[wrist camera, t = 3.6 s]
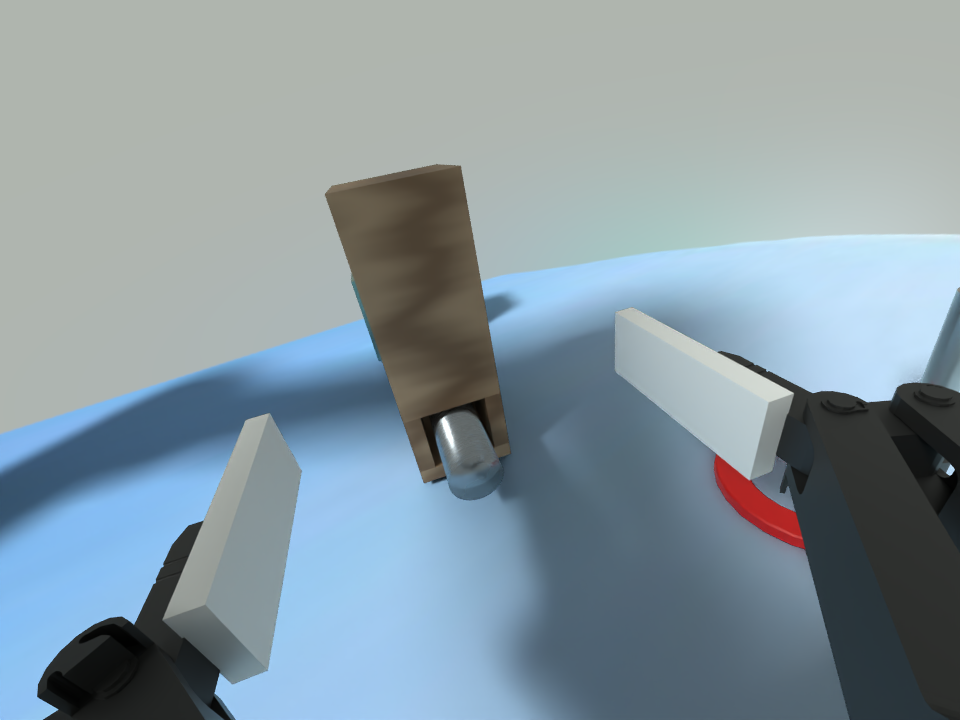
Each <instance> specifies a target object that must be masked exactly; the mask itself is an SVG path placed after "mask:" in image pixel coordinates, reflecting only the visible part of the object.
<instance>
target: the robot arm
mask: <svg viewBox="0 0 960 720" xmlns="http://www.w3.org/2000/svg"><path fill="white" fill-rule="evenodd" d="M615 372H617V373H618V374H619V375H620V376H621V377H623V378H624V379H625V380H626V381H628V382H629V383H630V384H631V385H633V386H634V387H635V388H636V389H637V390H639V391H640V392H641V393H642V394H644V395H645V396H646V397H647V398H649V399H650V400H651V401H652V402H653V403H655V404H656V405H657V406H658V407H660V408H661V409H662V410H663V411H664V412H666V413H667V414H668V415H669V416H671V417H672V418H673V419H674V420H676V421H677V422H678V423H679V424H680V425H682V426H683V427H684V428H685V429H687V430H688V431H689V432H690V433H692V434H693V435H694V436H695V437H696V438H698V439H699V440H700V441H701V442H703V443H704V444H705V445H706V446H708V447H709V448H710V449H711V450H712V451H714V452H715V453H716V454H717V455H719V456H720V457H721V458H722V459H724V460H725V461H726V462H727V463H728V464H730V465H731V466H732V467H733V468H735V469H736V470H737V471H738V472H739V473H741V474H742V475H743V476H744V477H746V478H747V479H748V480H749V481H750V480H752V479H755V478H757V477H760V476H762V475H765V474H767V473H770V472H772V469H773V466H774V462H775V459H776V455H777V456H778V457H780V458H781V459H783V460H784V461H785V462H787V467H786V470H785V473H784V476H783V480H782V483H781V486H780V493H785V491H786V488H787V486H789V488H790V492H791V496H792V500H793V504H794V507H795V511H796V515H797V519H798V523H799V527H800V530H801V534H802V538H803V542H804V546H805V550H806V554H807V557H808V561H809V565H810V569H811V573H812V577H813V580H814V584H815V588H816V592H817V596H818V600H819V603H820V607H821V611H822V615H823V619H824V623H825V626H826V630H827V634H828V638H829V642H830V646H831V649H832V653H833V657H834V661H835V665H836V669H837V672H838V676H839V680H840V684H841V688H842V692H843V695H844V699H845V703H846V707H847V711H848V715H849V718H850V720H960V393H959V392H957V391H955V390H952V389H949V388H946V387H944V386H941V385H936V384H935V385H933V384H930V383H907V384H902V385H901V386H899V387H897V389H896V391H895V394H894V396H893V398H892V400H891V401H879V402H865V401H863V400H862V399H860V398H858V397H855V396H852V395H849V394H846V393H840V392H834V391H821V392H817V393H811V392H809V391H807V390H805V389H803V388H801V387H799V386H797V385H795V384H793V383H791V382H789V381H787V380H785V379H783V378H781V377H779V376H777V375H775V374H773V373H772V372H770V371H768V372H767V371H766V369H764V368H762V367H760V366H758V365H754V363H752V362H750V361H748V360H746V359H744V358H742V357H740V356H737V355H734V354H730V353H726V352H723V351H720V352H716V351H714V350H712V349H710V348H708V347H706V346H704V345H702V344H701V343H699V342H697V341H695V340H693V339H691V338H689V337H687V336H686V335H684V334H682V333H680V332H678V331H676V330H674V329H672V328H670V327H669V326H667V325H665V324H663V323H661V322H659V321H657V320H655V319H654V318H652V317H650V316H648V315H646V314H644V313H642V312H640V311H639V310H637V309H635V308H633V307H631V308H628V309H624V310H621V311H618V312H615ZM944 459H946V460H947V461H948V462H949V463H950V464H951V465H952V466H953V467H954V469H955V471H954V472H953V474H952V475H951V476H949V475H948V474H946V473H945V472H944V471H943V470H942V469H941V468H940V466H941V464H942V462H943V461H944ZM301 472H302V471H301V469H300V467H299V465H298V463H297V462H296V460H295V458H294V456H293V454H292V453H291V451H290V449H289V447H288V445H287V443H286V442H285V440H284V438H283V436H282V434H281V433H280V431H279V429H278V427H277V425H276V424H275V422H274V420H273V418H272V416H271V415H270V413H268V414H264V415H261V416H257V417H254V418H251V419H247V420H246V421H245V423H244V426H243V428H242V431H241V433H240V435H239V438H238V440H237V443H236V445H235V447H234V450H233V452H232V454H231V457H230V459H229V462H228V464H227V466H226V469H225V471H224V474H223V476H222V478H221V481H220V483H219V486H218V488H217V490H216V493H215V495H214V498H213V500H212V502H211V505H210V507H209V510H208V512H207V514H206V517H205V519H204V521H201V522H198V523H195V524H192V525H189V526H188V527H187V528H186V529H185V530H184V531H183V533H182V534H181V535H180V536H179V537H178V539H177V540H176V541H175V542H174V543H173V545H172V546H171V549H170V551H169V553H168V555H167V557H166V559H165V561H164V563H163V565H164V567H162V568H161V570H160V572H159V574H158V576H157V578H156V583H155V584H153V587H152V589H151V591H150V593H149V595H148V597H147V599H146V601H145V603H144V606H143V608H142V610H141V612H140V614H139V616H138V618H137V620H136V622H135V625H133V624H132V623H131V622H130V621H128V620H127V619H125V618H123V617H114V618H108V619H106V620H104V621H101V622H99V623H97V624H94V625H93V626H91V627H90V628H88V629H87V630H85V631H84V632H82V633H81V634H79V635H78V636H76V637H75V638H74V639H73V640H72V641H71V642H70V643H69V644H68V645H66V646H65V647H64V648H63V649H62V650H61V651H60V652H59V653H58V654H57V656H56V657H55V658H54V659H53V661H52V662H51V663H50V664H49V666H48V667H47V668H46V670H45V672H44V674H43V676H42V678H41V680H40V682H39V684H38V693H37V697H38V698H40V699H42V700H43V701H45V702H47V703H48V704H50V705H52V706H54V707H55V708H57V709H59V710H58V711H56V712H54V713H53V714H51V715H50V716H48V717H47V718H45V719H43V720H235V718H234V717H233V715H232V714H231V713H230V711H229V710H228V708H227V707H226V706H225V704H224V703H223V702H222V700H221V699H220V698H219V697H218V696H217V695H215V694H214V692H215V689H216V685H217V681H218V677H219V673H221V674H222V675H223V676H224V677H225V678H226V679H227V680H228V681H229V682H230V683H231V684H235V683H237V682H240V681H242V680H245V679H247V678H250V677H252V676H255V675H258V674H260V673H263V672H265V671H268V666H269V660H270V654H271V648H272V643H273V637H274V631H275V625H276V619H277V613H278V607H279V601H280V596H281V590H282V584H283V578H284V572H285V566H286V560H287V555H288V549H289V543H290V537H291V531H292V525H293V519H294V513H295V508H296V502H297V496H298V490H299V484H300V478H301Z"/></svg>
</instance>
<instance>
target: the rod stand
mask: <svg viewBox="0 0 960 720" xmlns="http://www.w3.org/2000/svg"><path fill="white" fill-rule="evenodd" d="M351 282H352V285H353V288H354V291H355V294H356V297H357V299H358V302H359V305H360V308H361V311H362V314H363V317H364V320H365V323H366V326H367V328H368V331H369V334H370V337H371V340H372V343H373V346H374V349H375V351H376V354H377V357H378V360H379V361H381V360H382V359H381V356H380V354H379V351H378V348H377V345H376V342H375V339H374V336H373V333H372V330H371V327H370V324H369V321H368V319H367V316H366V313H365V310H364V307H363V304H362V301H361V298H360V295H359V292H358V289H357V286H356V284H355V281H354V278H353V275H352V277H351ZM429 418H430V422H431V425H432V429H433V432H434V436H435V439H436V443H437V446H438V449H439V453H440V456H441V460H442V463H443V467H444V470H445V474H446V477H447V480H448V484H449V487H450V490H451V492H452V493H453V494H454V495H455V496H456V497H458V498H460V499H463V500H476V499H480V498H483V497H485V496H487V495H489V494H491V493H492V492H493V491H494V490H495V489H497V487H498V486H499V485H500V483H501V481H502V479H503V475H504V470H503V467H502V465H501V463H500V461H499V458H498V456H497V454H496V452H495V450H494V448H493V446H492V444H491V442H490V440H489V438H488V436H487V434H486V431H485V429H484V427H483V425H482V423H481V421H480V419H479V417H478V415H477V413H476V411H475V409H474V407H473V405H472V402H470V403H467V404H464V405H460V406H457V407H454V408H451V409H448V410H444V411H441V412H438V413H435V414H432V415H429Z"/></svg>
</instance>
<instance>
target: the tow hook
mask: <svg viewBox="0 0 960 720" xmlns="http://www.w3.org/2000/svg"><path fill="white" fill-rule="evenodd" d="M920 383H930V384H933V385H935V384H936V385H941V386H944V387H946V388H949V389H952V390H955V391H957V392H960V288H958V289H957V291H956V294H955V296H954V299H953V301H952V304H951V306H950V309H949V311H948V314H947V316H946V319H945V321H944V324H943V326H942V329H941V331H940V334H939V336H938V339H937V341H936V344H935V346H934V349H933V351H932V354H931V356H930V359H929V361H928V364H927V366H926V369H925V371H924V374H923V377H922V379H921V382H920ZM949 466H950V463H949V462H948V461H947V460H946V459H944V461H943V462H942V464H941V466H940V468H941V469H942V470H943V471H944V472H945V473H946V472H947V470H948V468H949ZM714 473H715V477H716V482H717V485H718V487H719V488H720V490H721V492H722V494H723V495H724V497H725V499H726V500H727V501H728V502H729V503H730V504H731V505H732V506H733V507H734V509H735V510H736V511H737V512H738V513H739V514H740V515H741V516H742V517H744V518H745V519H747V520H748V521H749V522H751V523H752V524H754V525H755V526H757V527H758V528H759V529H761V530H762V531H764V532H766V533H768V534H770V535H772V536H774V537H776V538H778V539H780V540H782V541H784V542H786V543H788V544H791V545H793V546H796V547H800V548H803V549H805V546H804V542H803V538H802V534H801V530H800V527H799V523H798V519H797V515H796V512H794V511H792V510H789V509H787V508H785V507H782V506H780V505H779V504H777V503H776V502H774V501H772V500H771V499H769V498H768V497H766V496H765V495H764V494H763V493H762V492H761V491H760V490H758V489H757V488H756V487H755V485H754V484H753V483H752V481H751V480H750V481H749V480H748V479H747V478H746V477H744V476H743V475H742V474H741V473H739V472H738V471H737V470H736V469H735V468H733V467H732V466H731V465H730V464H728V463H727V462H726V461H725V460H724V459H722V458H721V457H720V456H719V455H717V454H716V458H715V462H714Z"/></svg>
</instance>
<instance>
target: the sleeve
mask: <svg viewBox="0 0 960 720" xmlns="http://www.w3.org/2000/svg"><path fill="white" fill-rule="evenodd" d="M325 196H326V198H327V202H328V205H329V208H330V210H331V213H332V216H333V219H334V222H335V225H336V228H337V231H338V234H339V237H340V240H341V243H342V245H343V248H344V251H345V254H346V257H347V260H348V263H349V265H350V269H351V272H352V275H353V278H354V281H355V284H356V286H357V289H358V292H359V295H360V298H361V301H362V304H363V307H364V310H365V313H366V316H367V319H368V321H369V324H370V327H371V330H372V333H373V336H374V339H375V342H376V345H377V348H378V351H379V354H380V356H381V359H382V362H383V365H384V368H385V371H386V374H387V377H388V380H389V383H390V386H391V389H392V391H393V394H394V397H395V400H396V403H397V406H398V409H399V412H400V415H401V418H402V421H403V423H404V426H405V429H406V432H407V435H408V438H409V441H410V444H411V447H412V450H413V453H414V456H415V458H416V461H417V464H418V467H419V470H420V473H421V476H422V479H423V482H424V483H427V482H430V481H432V480H435V479H438V478H441V477H444V476H446V474H445V470H444V467H443V463H442V460H441V456H440V453H439V449H438V446H437V443H436V439H435V436H434V432H433V429H432V425H431V422H430V418H429V415H432V414H435V413H438V412H441V411H444V410H448V409H451V408H454V407H457V406H460V405H464V404H467V403H470V402H472V405H473V407H474V409H475V411H476V413H477V415H478V417H479V419H480V421H481V423H482V425H483V427H484V429H485V431H486V434H487V436H488V438H489V440H490V442H491V444H492V446H493V448H494V450H495V452H496V454H497V456H498V458H500V457H503V456H506V455H509V454H511V451H510V445H509V439H508V433H507V428H506V422H505V416H504V411H503V405H502V399H501V393H500V388H499V382H498V376H497V370H496V365H495V359H494V353H493V348H492V342H491V336H490V330H489V325H488V319H487V313H486V308H485V302H484V296H483V290H482V285H481V279H480V273H479V268H478V262H477V256H476V250H475V245H474V240H473V233H472V228H471V222H470V216H469V210H468V205H467V199H466V193H465V188H464V182H463V177H462V170H461V166H455V165H438V164H436V165H432V166H426V167H422V168H417V169H412V170H407V171H402V172H397V173H392V174H388V175H383V176H378V177H373V178H368V179H363V180H358V181H354V182H348V183H344V184H339V185H334V186H331V188H330V189H329V190H328V191H327V192H326V193H325Z"/></svg>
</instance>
